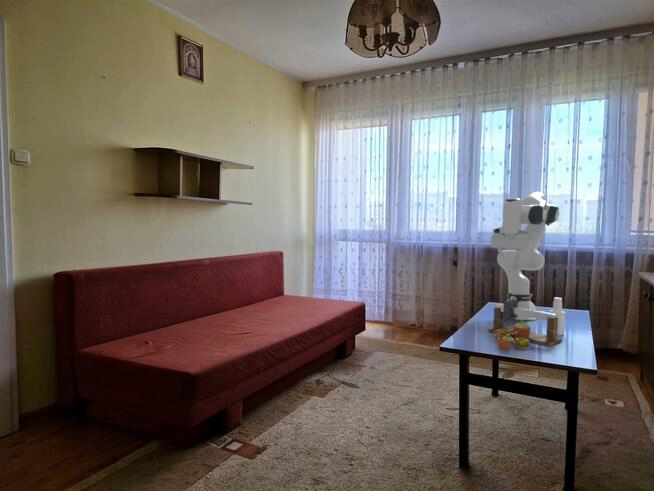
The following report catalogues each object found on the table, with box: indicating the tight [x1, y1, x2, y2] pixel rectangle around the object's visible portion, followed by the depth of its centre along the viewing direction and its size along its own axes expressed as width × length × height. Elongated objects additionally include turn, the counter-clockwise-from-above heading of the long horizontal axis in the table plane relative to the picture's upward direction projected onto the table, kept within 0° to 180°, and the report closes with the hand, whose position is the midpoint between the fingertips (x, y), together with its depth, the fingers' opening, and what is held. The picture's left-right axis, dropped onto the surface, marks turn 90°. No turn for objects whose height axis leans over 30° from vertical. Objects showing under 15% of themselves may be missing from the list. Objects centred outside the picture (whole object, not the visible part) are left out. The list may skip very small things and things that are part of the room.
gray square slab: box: [503, 299, 518, 321], centre depth 207 cm, size 2×9×9 cm, turn 128°
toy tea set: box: [493, 320, 531, 350], centre depth 191 cm, size 26×16×10 cm, turn 158°
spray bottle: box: [548, 296, 566, 336], centre depth 208 cm, size 7×7×18 cm
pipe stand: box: [487, 303, 563, 348], centre depth 202 cm, size 30×12×14 cm, turn 38°
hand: (510, 257), depth 214 cm, fingers open, 8 cm apart
